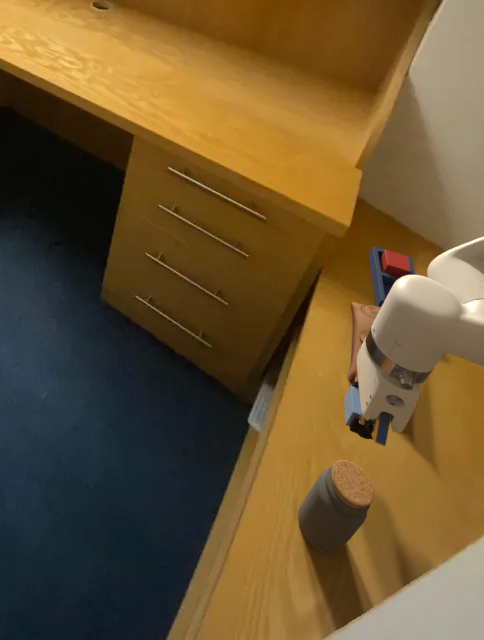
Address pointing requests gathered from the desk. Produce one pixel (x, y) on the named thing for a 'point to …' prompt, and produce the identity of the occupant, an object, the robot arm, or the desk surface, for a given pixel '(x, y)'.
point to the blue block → (352, 404)
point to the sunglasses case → (360, 331)
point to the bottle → (335, 506)
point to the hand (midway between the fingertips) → (359, 416)
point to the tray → (382, 276)
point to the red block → (394, 264)
